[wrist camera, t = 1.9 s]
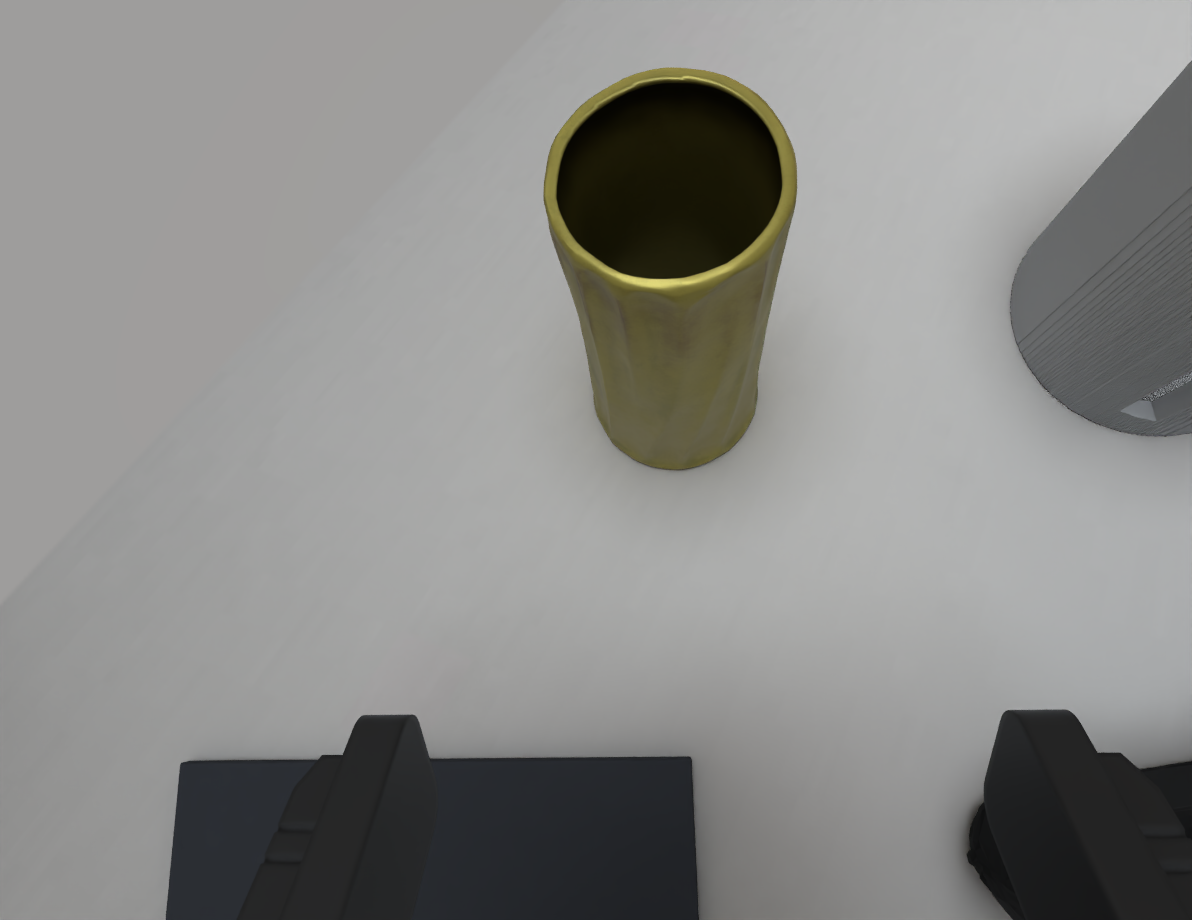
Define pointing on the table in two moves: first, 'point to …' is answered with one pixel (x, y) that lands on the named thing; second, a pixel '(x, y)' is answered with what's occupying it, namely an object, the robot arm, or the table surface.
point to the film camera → (1180, 783)
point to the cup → (1119, 281)
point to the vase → (672, 254)
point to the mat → (471, 838)
